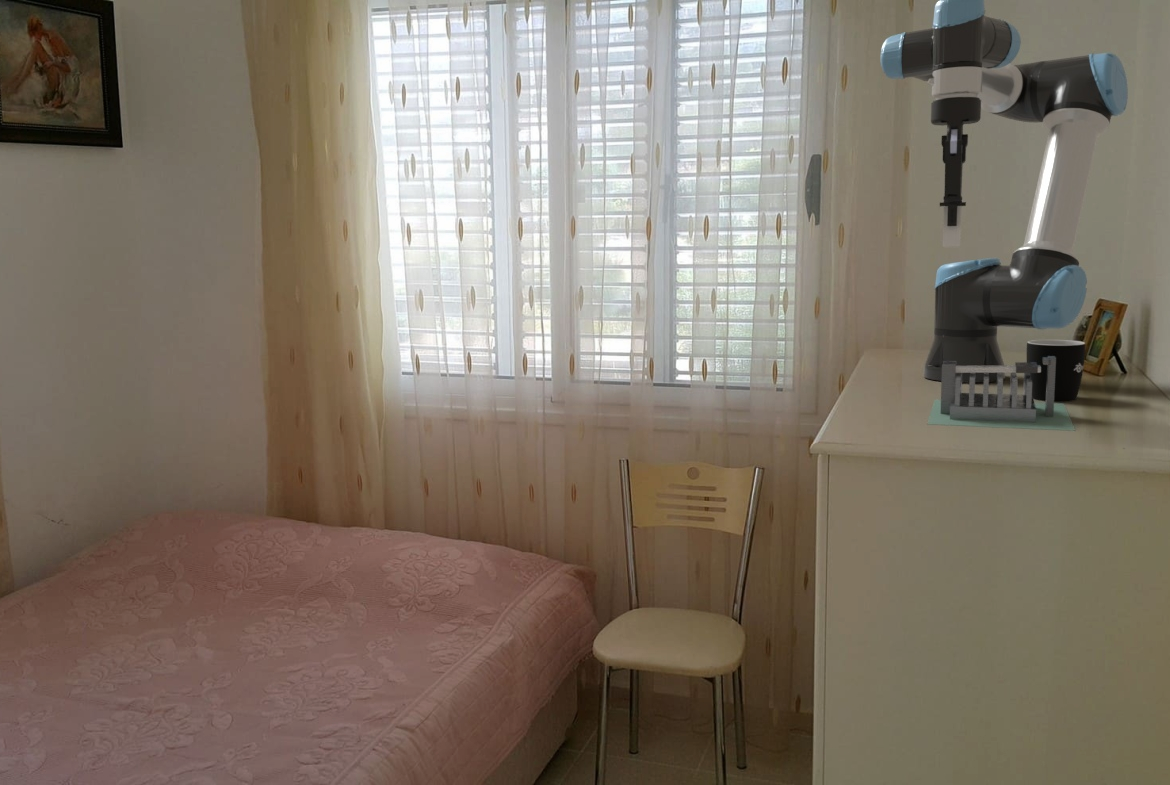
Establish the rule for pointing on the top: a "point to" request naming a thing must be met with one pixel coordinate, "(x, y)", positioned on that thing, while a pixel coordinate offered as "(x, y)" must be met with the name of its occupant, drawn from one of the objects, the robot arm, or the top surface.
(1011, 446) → the top surface
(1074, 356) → the mug
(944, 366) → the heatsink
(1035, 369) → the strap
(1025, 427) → the board
